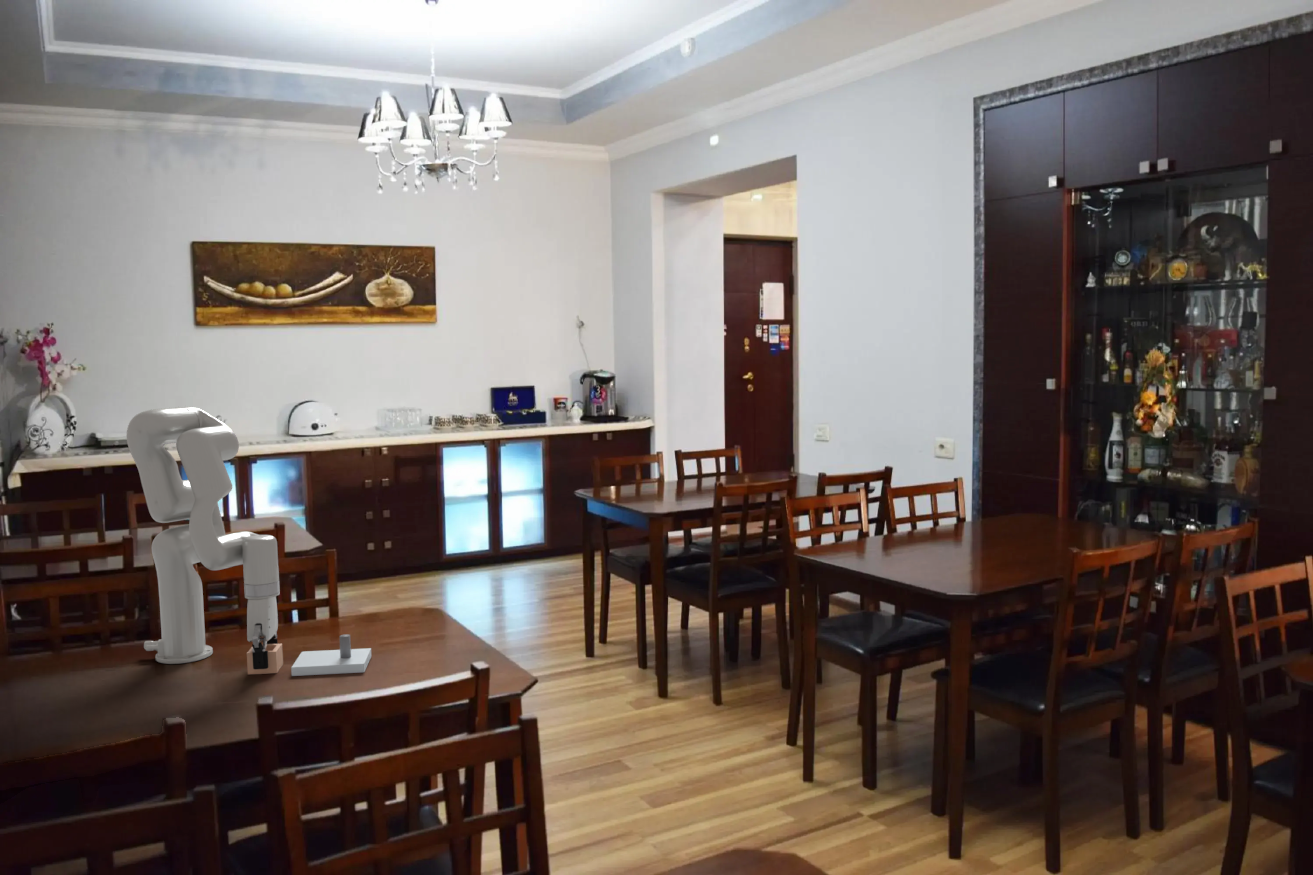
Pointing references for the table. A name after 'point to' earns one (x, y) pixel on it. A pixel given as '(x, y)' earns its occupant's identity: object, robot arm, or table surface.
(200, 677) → the table surface
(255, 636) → the robot arm
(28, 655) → the table surface
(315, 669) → the post plate
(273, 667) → the collar
